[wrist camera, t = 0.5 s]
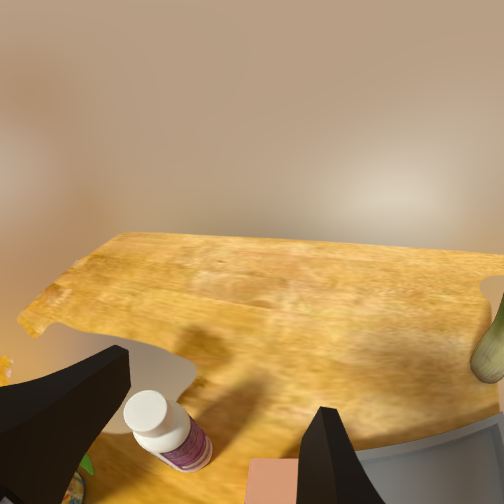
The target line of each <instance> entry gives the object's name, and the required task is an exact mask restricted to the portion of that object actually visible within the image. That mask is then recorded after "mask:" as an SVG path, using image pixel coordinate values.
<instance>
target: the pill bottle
mask: <svg viewBox="0 0 504 504" xmlns="http://www.w3.org/2000/svg"><path fill="white" fill-rule="evenodd" d="M124 419H125V422H126V424H127V425H128V426H129V427H130V428H131V429H132V430H133V434H134V437H135V439H136V440H137V442H138V443H139V444H140V445H141V446H142V447H143V448H144V449H145V450H147V451H148V452H150V453H151V454H153V455H154V456H155V457H157V458H158V459H160V460H161V461H163V462H164V463H166V464H168V465H169V466H171V467H172V468H174V469H176V470H178V471H181V472H194V471H197V470H199V469H201V468H203V467H204V466H205V465H206V464H207V463H208V462H209V461H210V459H211V456H212V451H213V447H212V443H211V440H210V439H209V437H208V436H207V435H206V434H205V432H204V431H203V430H202V429H201V428H200V427H199V425H198V424H197V423H196V422H195V421H194V420H193V419H192V417H191V416H190V415H189V414H188V413H187V411H186V410H185V409H184V408H183V407H182V406H181V405H179V404H178V403H176V402H174V401H171V400H167V399H166V398H165V397H164V396H163V395H162V394H160V393H159V392H157V391H153V390H145V391H142V392H139V393H137V394H135V395H134V396H132V397H131V398H130V399H129V401H128V402H127V403H126V406H125V408H124Z"/></svg>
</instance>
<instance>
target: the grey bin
mask: <svg viewBox="0 0 504 504" xmlns="http://www.w3.org/2000/svg"><path fill="white" fill-rule="evenodd" d="M355 453H356V455H357V457H358V459H359V461H360V463H361V465H362V467H363V469H364V470H365V472H366V474H367V476H368V478H369V479H370V481H371V483H372V484H373V486H374V487H375V489H376V491H377V492H378V493H379V495H380V496H381V498H382V499H383V501H384V502H385V503H386V504H504V415H503V412H500V413H498V414H496V415H493V416H491V417H488V418H486V419H483V420H480V421H478V422H475V423H472V424H469V425H467V426H464V427H461V428H458V429H455V430H451V431H448V432H445V433H441V434H438V435H434V436H430V437H427V438H423V439H419V440H414V441H410V442H406V443H401V444H396V445H391V446H385V447H379V448H373V449H367V450H359V451H355Z"/></svg>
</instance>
